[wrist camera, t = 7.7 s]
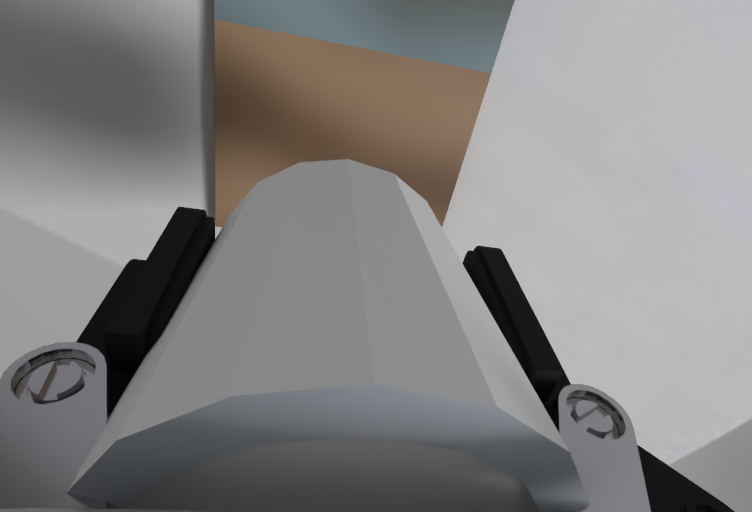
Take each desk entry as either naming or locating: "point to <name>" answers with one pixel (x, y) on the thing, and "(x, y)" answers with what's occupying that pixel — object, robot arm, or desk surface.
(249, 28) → the game board
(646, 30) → the desk surface
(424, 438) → the white cup
